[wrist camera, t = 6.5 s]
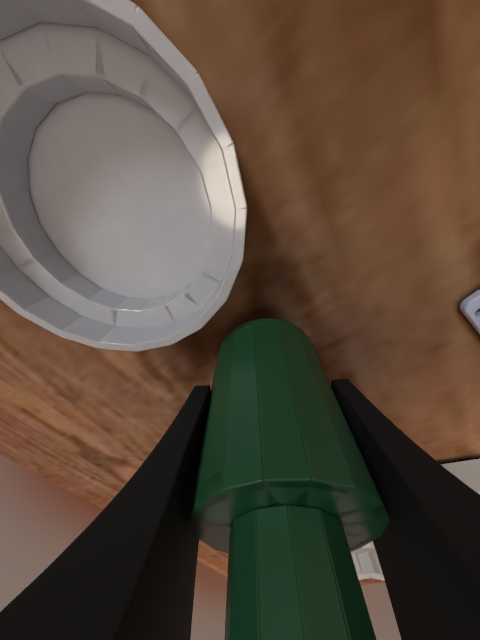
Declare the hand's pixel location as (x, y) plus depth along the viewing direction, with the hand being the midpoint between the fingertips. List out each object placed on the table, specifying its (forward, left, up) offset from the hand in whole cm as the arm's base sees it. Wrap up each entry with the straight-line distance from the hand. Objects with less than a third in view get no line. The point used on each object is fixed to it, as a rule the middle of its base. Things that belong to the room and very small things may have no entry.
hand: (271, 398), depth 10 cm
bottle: (0, 0, -3) cm, 3 cm away
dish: (+9, -1, -4) cm, 11 cm away
